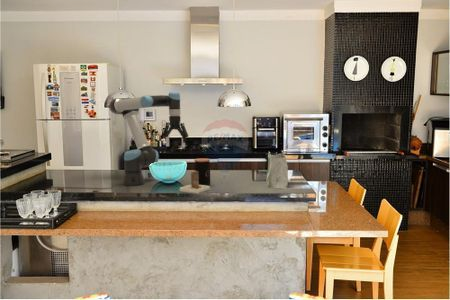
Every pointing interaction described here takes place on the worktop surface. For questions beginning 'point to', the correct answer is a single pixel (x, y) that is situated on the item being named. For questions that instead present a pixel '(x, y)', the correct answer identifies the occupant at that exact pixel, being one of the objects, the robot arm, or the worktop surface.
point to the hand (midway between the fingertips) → (175, 147)
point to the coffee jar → (203, 170)
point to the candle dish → (194, 189)
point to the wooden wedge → (195, 179)
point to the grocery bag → (277, 171)
